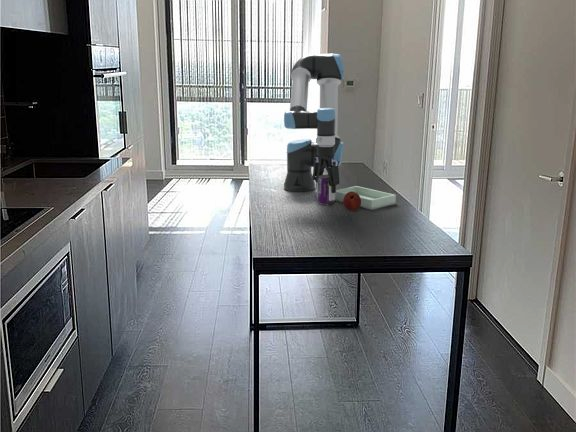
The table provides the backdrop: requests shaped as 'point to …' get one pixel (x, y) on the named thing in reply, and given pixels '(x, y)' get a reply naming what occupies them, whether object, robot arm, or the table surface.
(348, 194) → the apple
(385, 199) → the tote
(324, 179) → the beverage can
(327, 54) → the robot arm
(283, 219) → the table surface
